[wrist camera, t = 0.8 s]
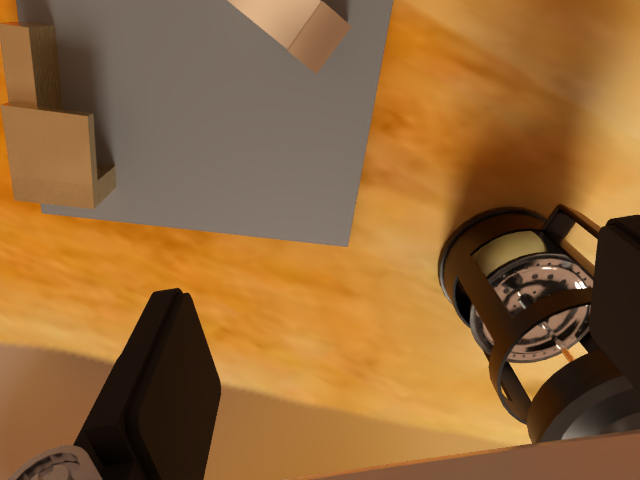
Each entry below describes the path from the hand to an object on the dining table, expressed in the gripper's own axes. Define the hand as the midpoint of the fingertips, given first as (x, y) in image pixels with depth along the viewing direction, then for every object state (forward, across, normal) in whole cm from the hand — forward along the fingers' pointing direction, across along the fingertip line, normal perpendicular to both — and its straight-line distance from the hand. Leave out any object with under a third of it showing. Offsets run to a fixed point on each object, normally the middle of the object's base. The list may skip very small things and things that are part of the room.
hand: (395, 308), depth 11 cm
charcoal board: (+22, +7, -6) cm, 24 cm away
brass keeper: (+21, +16, -3) cm, 27 cm away
